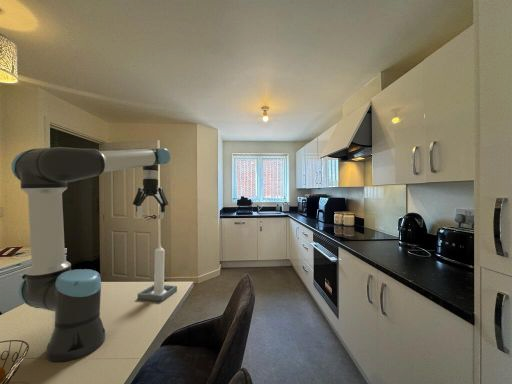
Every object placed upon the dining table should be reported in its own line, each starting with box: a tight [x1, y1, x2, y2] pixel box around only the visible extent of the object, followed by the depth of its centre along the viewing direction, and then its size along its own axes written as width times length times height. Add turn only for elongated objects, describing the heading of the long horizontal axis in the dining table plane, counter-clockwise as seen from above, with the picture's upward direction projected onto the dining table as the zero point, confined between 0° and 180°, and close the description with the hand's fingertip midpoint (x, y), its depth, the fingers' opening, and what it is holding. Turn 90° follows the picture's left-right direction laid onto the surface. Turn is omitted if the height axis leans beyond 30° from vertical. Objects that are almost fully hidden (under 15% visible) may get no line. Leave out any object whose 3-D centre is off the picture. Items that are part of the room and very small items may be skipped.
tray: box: [137, 284, 178, 302], centre depth 115 cm, size 13×13×2 cm
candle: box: [151, 243, 167, 295], centre depth 115 cm, size 7×7×25 cm
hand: (150, 218), depth 123 cm, fingers open, 13 cm apart
